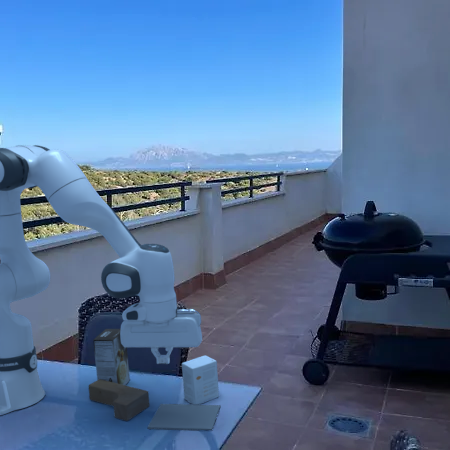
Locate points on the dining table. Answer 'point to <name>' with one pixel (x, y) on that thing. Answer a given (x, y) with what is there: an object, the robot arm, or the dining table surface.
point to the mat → (184, 417)
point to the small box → (200, 380)
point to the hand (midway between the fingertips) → (163, 363)
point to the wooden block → (119, 398)
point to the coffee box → (111, 357)
